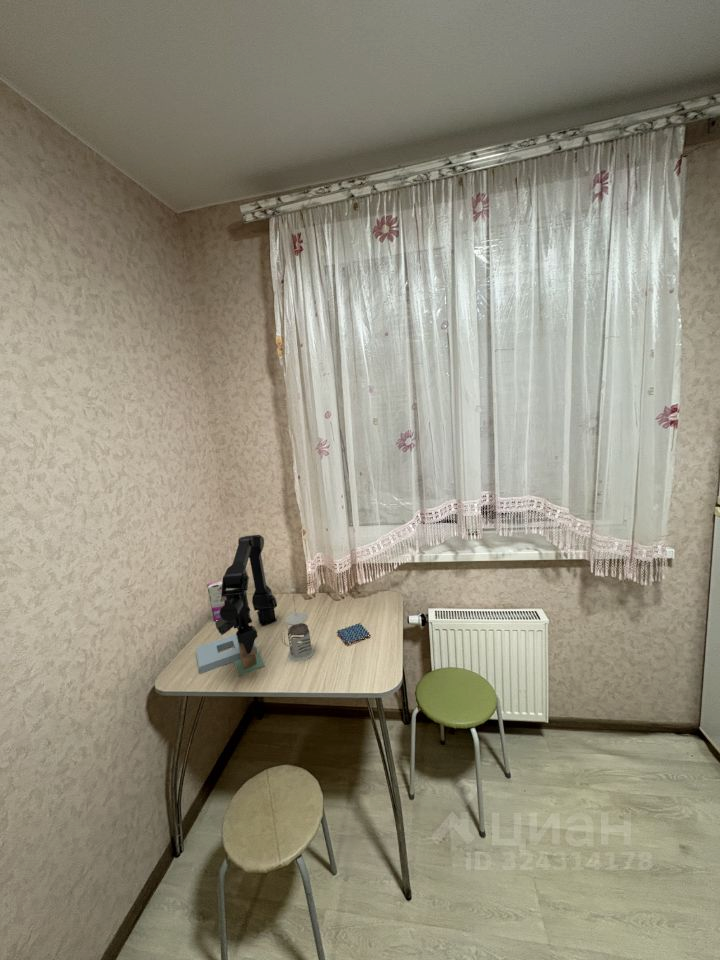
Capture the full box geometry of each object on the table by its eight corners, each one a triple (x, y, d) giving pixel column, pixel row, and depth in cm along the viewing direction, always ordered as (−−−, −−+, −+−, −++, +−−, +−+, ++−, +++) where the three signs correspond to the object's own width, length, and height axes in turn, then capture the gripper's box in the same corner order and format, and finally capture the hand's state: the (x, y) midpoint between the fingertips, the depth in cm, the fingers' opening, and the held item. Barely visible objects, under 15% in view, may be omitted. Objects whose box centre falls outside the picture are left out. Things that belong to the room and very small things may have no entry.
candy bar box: (237, 609, 176) (232, 576, 173) (239, 614, 171) (234, 580, 169) (212, 617, 171) (206, 583, 168) (213, 622, 166) (207, 587, 164)
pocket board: (249, 635, 153) (249, 629, 153) (257, 652, 141) (256, 646, 141) (196, 653, 145) (195, 647, 144) (199, 673, 132) (198, 667, 132)
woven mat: (335, 634, 149) (335, 629, 148) (360, 626, 153) (359, 621, 153) (346, 648, 139) (345, 643, 139) (371, 639, 144) (371, 634, 143)
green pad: (259, 653, 141) (258, 652, 141) (264, 666, 133) (264, 665, 133) (234, 662, 137) (233, 661, 137) (238, 676, 129) (238, 675, 129)
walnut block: (253, 657, 138) (250, 634, 136) (256, 664, 134) (253, 640, 132) (241, 662, 136) (237, 639, 134) (243, 668, 132) (239, 645, 130)
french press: (320, 651, 138) (312, 587, 134) (294, 667, 130) (284, 600, 126) (304, 641, 145) (295, 580, 141) (278, 657, 137) (268, 592, 133)
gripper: (212, 602, 136) (218, 642, 138) (218, 625, 119) (226, 670, 122) (243, 593, 141) (249, 631, 143) (254, 614, 124) (261, 657, 127)
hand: (246, 646), depth 134 cm, fingers open, 9 cm apart
